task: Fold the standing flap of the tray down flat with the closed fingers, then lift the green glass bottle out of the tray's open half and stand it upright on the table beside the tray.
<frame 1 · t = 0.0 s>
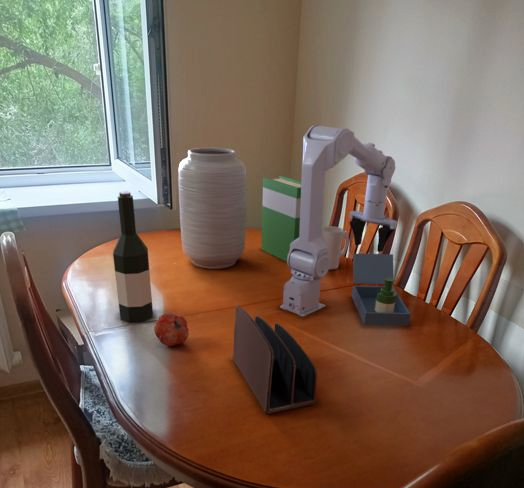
hand: (368, 247, 143), 10 cm above the table, tool pointing down, fingers open, 7 cm apart
vase: (213, 261, 158), on the table
tray: (378, 312, 128), on the table
pomegranate: (172, 343, 111), on the table
letter holder: (271, 382, 98), on the table
mug: (332, 266, 158), on the table
flap: (373, 268, 134), point 8 cm above the table, hinge at 125.0°
hardback book: (285, 255, 166), on the table
wine bottle: (136, 316, 122), on the table
bottle: (382, 318, 124), resting on tray
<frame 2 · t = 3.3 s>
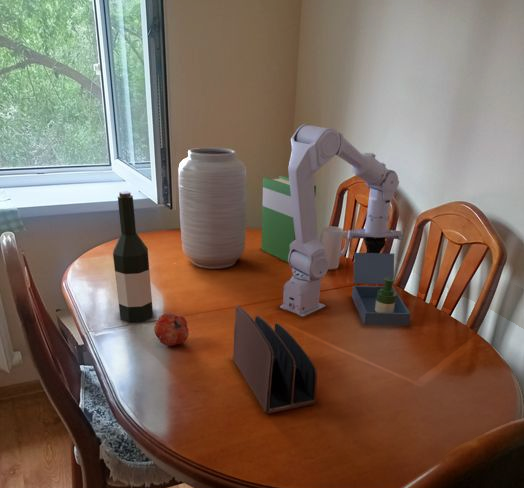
hand: (371, 263, 137), 8 cm above the table, tool pointing down, fingers closed, pressing on flap
flap: (373, 268, 134), point 8 cm above the table, hinge at 117.1°, touching gripper
everything else where it was.
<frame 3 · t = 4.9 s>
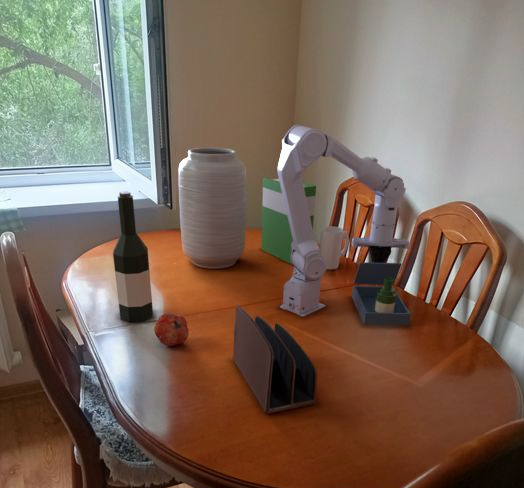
hand: (375, 273, 132), 8 cm above the table, tool pointing down, fingers closed
flap: (377, 273, 130), point 8 cm above the table, hinge at 62.3°
everything else where it was.
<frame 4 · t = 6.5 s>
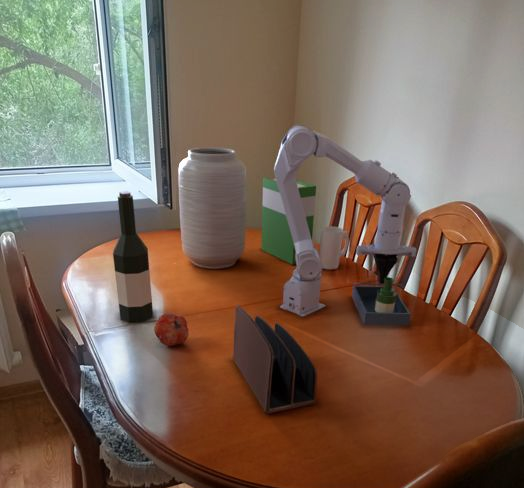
hand: (381, 282, 126), 8 cm above the table, tool pointing down, fingers closed
flap: (377, 284, 130), point 6 cm above the table, hinge at 22.8°
everything else where it was.
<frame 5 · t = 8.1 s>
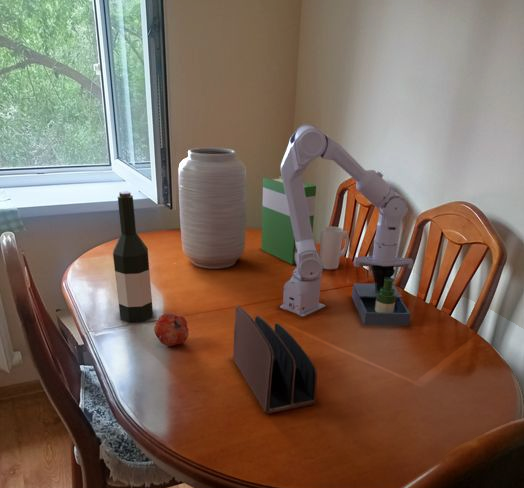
hand: (378, 292, 128), 4 cm above the table, tool pointing down, fingers closed, pressing on flap
flap: (377, 290, 130), point 4 cm above the table, hinge at -0.4°, touching gripper
everything else where it was.
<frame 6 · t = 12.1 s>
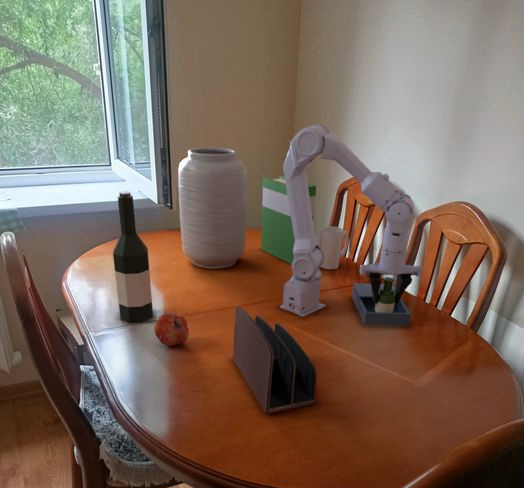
hand: (385, 302, 122), 5 cm above the table, tool pointing down, fingers closed on bottle, 5 cm apart
flap: (377, 290, 130), point 4 cm above the table, hinge at -0.6°
bottle: (382, 318, 124), point 1 cm above the table, touching tray, gripper
everything else where it was.
when the fingers open (4 cm above the table, at t = 16.3 s): bottle stays where it is, on the table.
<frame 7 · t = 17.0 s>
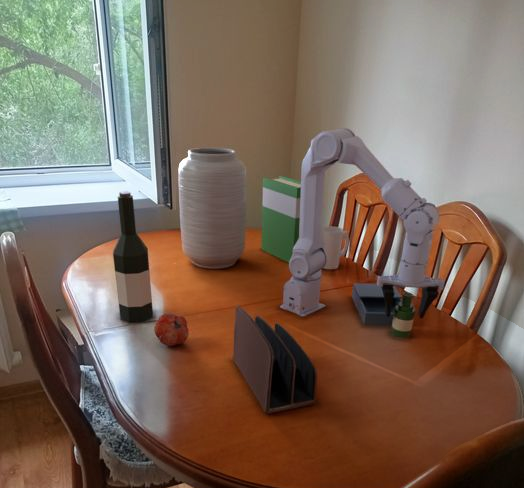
hand: (404, 315, 115), 5 cm above the table, tool pointing down, fingers open, 7 cm apart
bottle: (400, 335, 117), on the table
everything else where it was.
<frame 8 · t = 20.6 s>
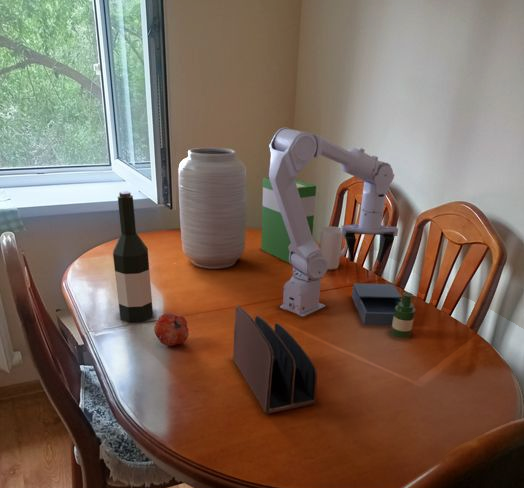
hand: (365, 260, 132), 10 cm above the table, tool pointing down, fingers open, 7 cm apart
nothing on the table moved.
at the end: flap at -1° (first picture: +125°); bottle 0.4 cm from the target spot, on the table; bottle tilted 0° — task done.
